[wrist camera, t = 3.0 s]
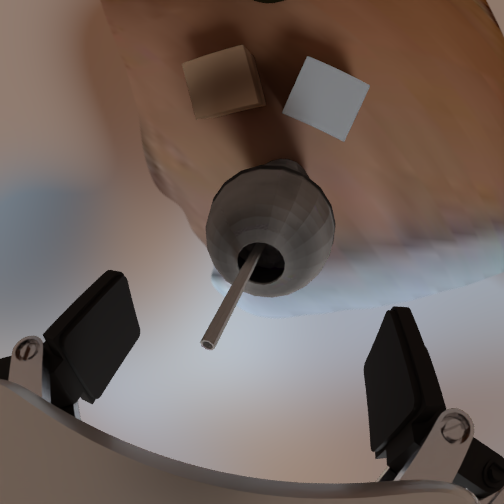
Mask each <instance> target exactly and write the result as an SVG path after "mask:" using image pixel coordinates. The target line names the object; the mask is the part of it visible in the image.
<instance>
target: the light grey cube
mask: <svg viewBox="0 0 504 504" xmlns="http://www.w3.org/2000/svg"><path fill="white" fill-rule="evenodd" d="M369 87H370V85H368V84H366V83H364V82H362V81H361V80H359V79H357V78H355V77H353V76H351V75H349V74H347V73H345V72H343V71H341V70H338V69H336V68H334V67H332V66H330V65H328V64H325V63H323V62H321V61H318V60H316V59H314V58H311V57H309V56H307V58H306V60H305V62H304V65H303V67H302V69H301V71H300V73H299V76H298V78H297V80H296V82H295V84H294V87H293V89H292V91H291V93H290V96H289V98H288V100H287V102H286V105H285V107H284V109H283V111H282V113H283V114H285V115H288V116H290V117H293V118H295V119H297V120H299V121H302V122H304V123H306V124H308V125H311V126H313V127H315V128H317V129H319V130H321V131H323V132H326V133H328V134H330V135H332V136H334V137H336V138H338V139H340V140H342V141H345V139H346V136H347V134H348V132H349V130H350V128H351V126H352V124H353V122H354V120H355V117H356V115H357V113H358V111H359V109H360V107H361V104H362V102H363V100H364V98H365V96H366V94H367V91H368V89H369Z"/></svg>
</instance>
